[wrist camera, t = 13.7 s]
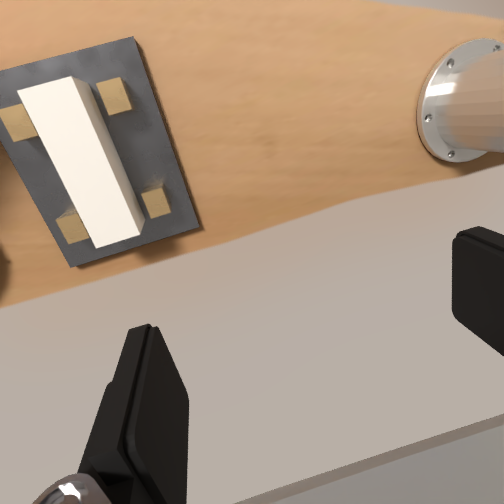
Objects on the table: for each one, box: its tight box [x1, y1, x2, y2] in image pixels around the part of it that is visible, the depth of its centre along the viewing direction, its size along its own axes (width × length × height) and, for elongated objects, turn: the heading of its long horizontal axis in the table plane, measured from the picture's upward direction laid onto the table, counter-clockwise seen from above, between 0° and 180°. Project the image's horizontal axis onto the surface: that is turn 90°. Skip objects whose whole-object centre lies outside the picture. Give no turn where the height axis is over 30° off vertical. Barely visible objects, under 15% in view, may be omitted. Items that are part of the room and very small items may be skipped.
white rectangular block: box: [17, 76, 145, 248], centre depth 29 cm, size 4×13×5 cm, turn 15°
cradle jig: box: [0, 36, 199, 268], centre depth 31 cm, size 14×18×4 cm
